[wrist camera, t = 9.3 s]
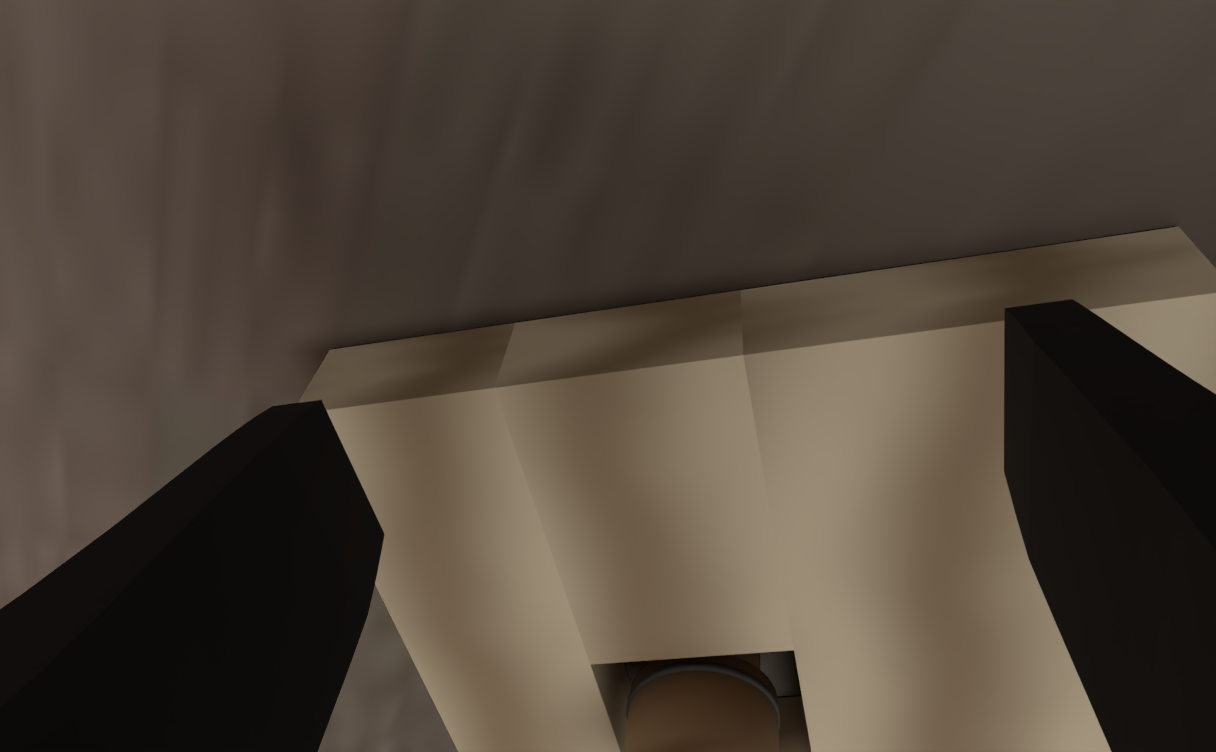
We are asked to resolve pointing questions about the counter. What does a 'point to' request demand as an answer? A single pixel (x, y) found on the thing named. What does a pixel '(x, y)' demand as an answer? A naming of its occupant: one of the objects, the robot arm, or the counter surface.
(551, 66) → the counter surface
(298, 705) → the robot arm
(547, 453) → the board
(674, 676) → the peg
